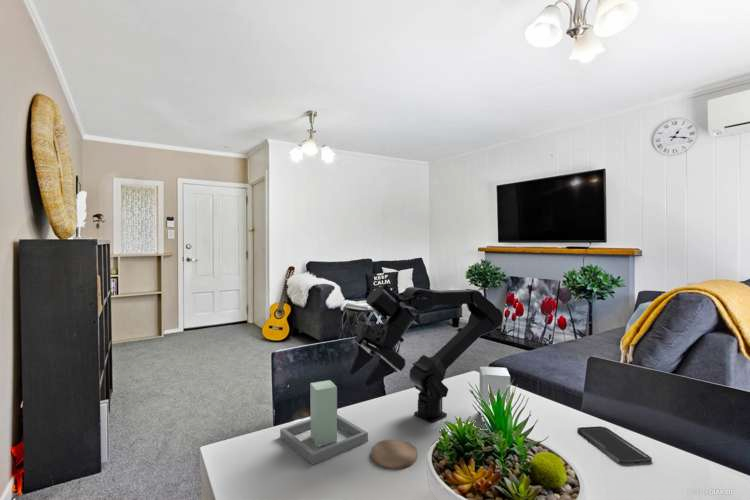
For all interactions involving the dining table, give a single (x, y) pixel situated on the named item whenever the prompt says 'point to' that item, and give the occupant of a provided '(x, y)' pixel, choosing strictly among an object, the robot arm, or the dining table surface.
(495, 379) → the supplement box
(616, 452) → the phone
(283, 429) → the tray
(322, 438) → the green block
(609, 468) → the dining table surface
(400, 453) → the coaster
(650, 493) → the dining table surface
